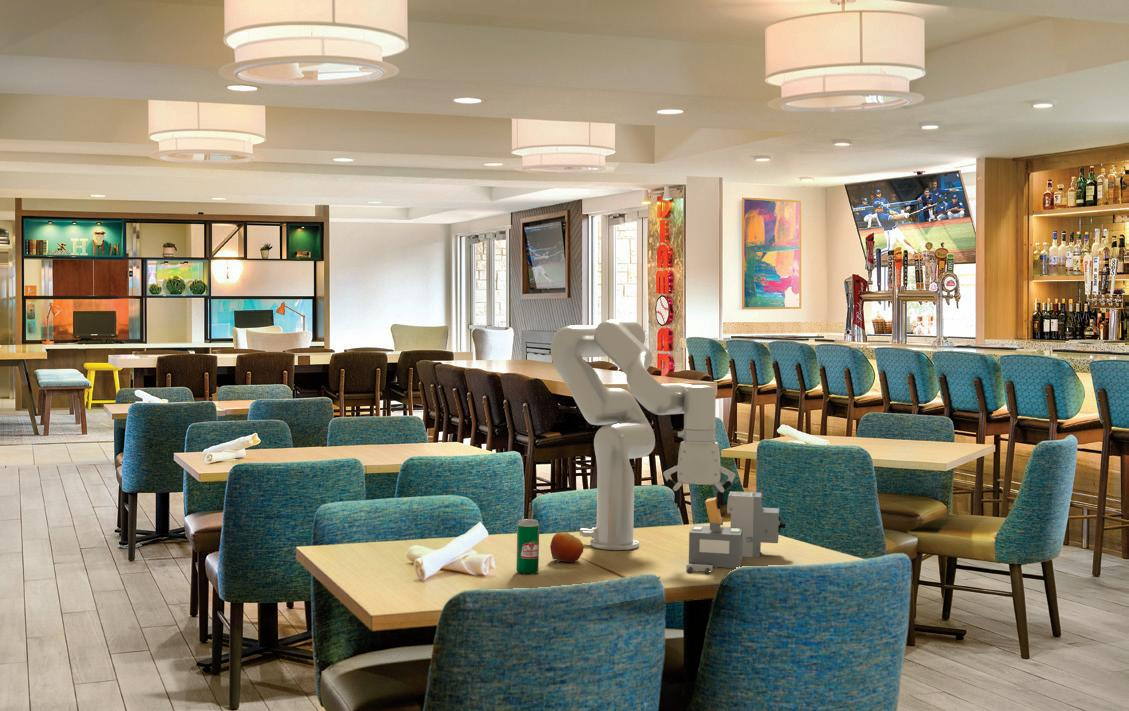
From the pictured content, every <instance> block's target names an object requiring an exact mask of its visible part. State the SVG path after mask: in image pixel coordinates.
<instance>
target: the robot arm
mask: <svg viewBox="0 0 1129 711" xmlns="http://www.w3.org/2000/svg"><path fill="white" fill-rule="evenodd" d="M644 330H645V329H644V328H643V327H642V326H641V325H640V324H639V323H638V322H636V321H635V320H631V319H607V320H603V321H602V322H600V323H599V324H598V325H597V324H596V325H593V324H592V325H590V324H589V325H587V324H586V325H585V324H581V325H580V324H575V325H573V324H572V325H567V326H563V327H562V328H559V329H558V330H557V331H556V332H555V333H554V335H553V337H552V340H551V344H550V356H551V360H552V363H553V366H554V367H555V368H554V369H556V372H557V373H558V374H559V376H560V378H561V379H562V381H563V383H565V385H566V386H567V389H568V390H569V392H570V395H571V396H572V398H573V399H574V402H575V403H576V406H577V407H578V409H579V411H580V413H581V414H582V416H583V417H584V420H586V421H587V423H588V424H590V425H594V426H601V427H600V428H599V429H598V430H597V431H596V433H595V435H594V438H593V447H594V449H593V450H594V454H595V461H596V472H597V473H596V475H597V476H596V477H597V478H596V487H597V488H596V526H595V527H592V528H580V529H579V536H581V537H583V538H585V537H586V538H589V537H590V538H591V540H590V541H589V545H590V546H591V547H593V548H595V549H600V550H609V551H610V550H611V551H626V550H628V551H629V550H635V549H638V548H639V547H640V541H639V540H637V539H634V523H635V522H634V511H635V475H634V474H635V473H634V471H633V468H632V467H633V466H632V465H631V462H630V460H632V459H639V458H644V457H647V456H648V455H650V454H651V453H652V452H653V450H654V449H655V447H656V438H655V437H656V436H655V432H654V430H653V428H652V426H651V424H650V422H649V420H648V418H647V417H646V415H645V413H644V412H643V410H642V409H641V407H640V405H641V406H643V408H644V409H646V410H647V411H649V412H650V413H652V414H654V415H659V416H666V415H680V414H683V430H681V431H677V437H678V438H682V439H683V441H681V442H680V443H679V444H680V445H679V449H678V457H677V465H674V466H673V467H670V468H669V469H667V470H665V471H663V474H662V475H663V477H664V479H665V481H666V483H667V485H668V486H670V487H671V489H672V490H673V492H674V495H673V496H674V500H673V501H674V502H673V503H674V504H676V508H680V507H681V506H682V490H681V487H682V486H683V485H702V486H703V485H704V486H705V485H706V486H708V485H709V486H712V485H714V486H715V487H716V488H717V493H716V497H717V508H718V509H720V510H721V508H722V506H724V502H725V501H724V499H725V497H724V495H725V491H726V490H727V489H728V488H730V486H731V485H732V483H733V481H734V479H735V478H736V473H735V472H733V471H731V470H730V469H727V468H726V467H724V466H722V465H721V455H720V447H719V443H718V442H717V441H716V406H717V405H716V404H717V402H716V400H717V398H716V393H717V392H716V389H715V387H713V386H712V385H704V384H703V385H702V384H701V385H700V384H694V385H693V384H690V383H685V382H684V383H681V382H679V383H676V382H675V383H660V382H659V381H657V380H656V378H654V377H653V375H652V374H651V373H649V371H648V369H649V368H650V366H651V364H652V362H653V352H652V351H651V350H650V349H649V348H648V347H647V346H645V341H646V334H645V331H644ZM600 357H602V358H603V357H608V358H609V359H610V360H611V361H612V362H613V363H614V364H615V365H616V366H617V367H618V368H619V369H620V370H621V371H622V372H623V373H624V374H625V375H626V382H627V387H628V388H629V389H628V390H629V391H628V390H626V389H624V388H619V387H607V386H605V385H604V384H603V381H602V380H601V379H600V376H599V375H598V373H597V371H596V369H594V368H593V367H592V366H591V365H590V364H589V363H588V362H587V361H585V359H584V358H600ZM639 403H640V404H639ZM676 472H677V482H675V481H674V479H672V476H671V475H672V474H674V473H676ZM721 474H723V475H725V476H727V478H728V479H727V480H726V482H724V483H722V482H721V476H722V475H721Z"/></svg>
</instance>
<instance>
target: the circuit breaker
mask: <svg viewBox="0 0 1129 711" xmlns="http://www.w3.org/2000/svg"><path fill="white" fill-rule="evenodd" d="M762 497H763V493H762V492H756V491H755V492H754V491H753V492H752V491H751V492H750V491H729V494H728V497H727V502H726V505H727V506H726V513H727V514H728V515H730V527H735V528H743V542H742V558H743V557H745V558H760V555H761V552H762V551H761V550H762V549H761V546H762V543H764V544H778V542H779V534H780V532H781V529H786V524H787V523H786V521H781V516H780V508H777V507H763V506H762V503H763V500H762V499H763V498H762Z"/></svg>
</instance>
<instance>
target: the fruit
mask: <svg viewBox="0 0 1129 711" xmlns="http://www.w3.org/2000/svg"><path fill="white" fill-rule="evenodd" d="M549 548H550V554H551V557H552V560H556V563H555V564H556V565H558V563H559V562H566V563H576V562H577V561H578V560H579V559H580V558H581V556H582V554H583V553H584V548H585V546H584V543H583V542H582V540H581V539H579V538H578V537H576V536H575V535H572V534H571V533H569V532H559V531H558V532H557V533H555V534H554V535H553V536H552V538H551V540H550V547H549Z"/></svg>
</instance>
